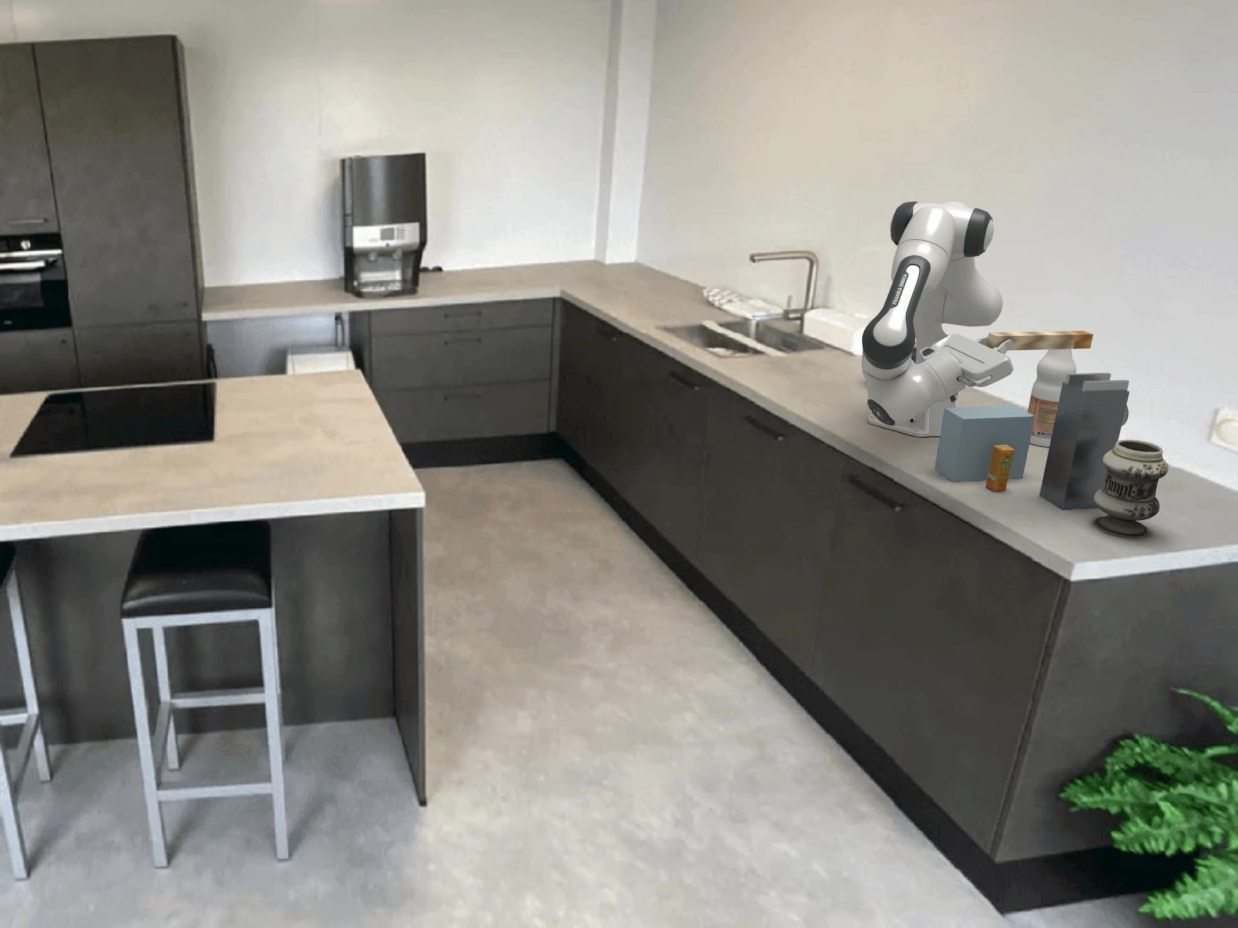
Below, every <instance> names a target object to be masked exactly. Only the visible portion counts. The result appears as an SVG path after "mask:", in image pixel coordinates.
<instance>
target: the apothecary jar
mask: <svg viewBox="0 0 1238 928" xmlns="http://www.w3.org/2000/svg"><path fill="white" fill-rule="evenodd" d="M1163 452H1164V450H1163V448H1162V447H1161V446H1159V445H1158V444H1155V443H1152V442H1148V441H1145V440H1138V439H1120V440H1119V439H1118V441H1117V442H1116V444H1115V447H1114V449H1113V450H1110V451H1109V452H1107V453H1106V454H1105V455H1104V457H1103V463H1104V465H1105V467H1106V468H1107V474H1106V479H1105V483H1104V486H1103V488H1101V489H1100V490H1098V491H1097V492H1096V494H1095V496H1094V501H1095V503H1096V505H1097V506H1098V509H1099V510H1100V511H1101V512H1103V513H1104V514H1105V515H1106V516H1105V515H1104V516H1099V517H1097V518H1096V519H1095V520H1094V525H1095V526H1096V527H1097V529H1100V530H1101V531H1102V532H1105V533H1107V534H1109V535H1110V534H1111V535H1114V536H1117V537H1123V538H1133V539H1135V538H1143V537H1145V536H1146V535H1148V528H1147V527H1146V526H1145V525H1144V524H1143V523H1141V522H1139V521H1145V520H1149V519H1151V518H1153V517H1155V516H1156V515H1158V513H1159V512H1160V509H1161V505H1160V502H1159V499H1158V498H1157V497H1156V493H1157V488H1158V483H1159V481H1160V479H1162V478H1163V477H1165V476H1166V475H1167V473H1168V472H1169V465H1168V462H1167V461H1166V459H1164V455H1163V454H1164V453H1163Z"/></svg>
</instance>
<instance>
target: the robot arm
mask: <svg viewBox="0 0 1238 928" xmlns="http://www.w3.org/2000/svg"><path fill="white" fill-rule="evenodd" d="M993 222H994V221H993V217H992V216H991V213H989V211H986V210H984V209H983V208H982V209H981V208H977V207H975V208H971V207H968V206H967V205H966V204H965V203H962V202H959V201H955V200H951V201H946V202H942V203H937V202H918V201H916V200H915V201H905V202H903V203H902V204H900V205H899V206H897V207H896V209H895V211H894V214H893V215H892V217H891V221H890V224H889V226H890V227H889V231H890V239H891V241H892V242H893V243H894V245H895V246H897V247H896V250H895V253H894V257H893V260H892V264H891V265H892V267H891V273H890V279H891V281H892V283H891V285H890V288H889V291H888V294H887V296H886V299H885V301H884V303H883V307H882V308H881V309H880V312H878V314H877V315H876V316H875V317H873V319H871V320H870V321H869V322H868V324H867V325H866V326H865V328H864V329H863V333H862V335H861V347H862V352H861V354H862V355H861V371H862V374H863V377H864V379H865V381H866V382H865V383H866V387H867V400H866V401H867V406H868V409H869V410H870V411H871V413H870V414H869V415H868V418H867V422H868V423H869V424H870V425H874V426H877V427H880V428H885V429H889V430H892V431H895V432H900V433H903V434H907V435H910V436H913V437H917V438H918V437H919V438H925V437H940V432H941V426H942V420H943V414H944V408H956V401H957V399H958V396H959V392H961V391H962V390H964V389H966V386H967V387H969V388H973V387H976V388H985V387H988V386H991V385H992V384H994V383H998V382H999V381H1001V380H1003V379H1005V378H1007V377H1009V376H1011V375H1012V373H1013V371H1014V370H1015V369H1014V365H1013V363H1012V360H1011V357H1010V356H1008V355H1007V354H1006V353H1007V352H1008V351H1011V350H1010V349H1011V348H1013V347H1014V344H1013V341H1012V340H1010V339H1008V338H1006V339H1005V340H1003V341H1001V342H1000V343H1001V345H1000V346H999V347H998V348H997V347H995V348H993V349H991V348H989V347H987V340H988V336H983V337H979V338H976V339H975V340H973V339H971V338H969V337H966V336H964V335H962V334H960V333H953V334H950V335H948V333H946V332H945V330H944V328H943V325H942V324H945V325H955V326H962V327H970V328H972V327H975V328H976V327H989V326H991V325H992V324H994V323H995V322H996V321H997V320H998V318H999V316H1000V315H1001V313H1002V310H1003V305H1004V303H1003V301H1004V300H1003V298H1002V297H1003V296H1002V294H1001V292H1000V290H999V289H998V288H997V287H996V286H994V285H993V284H991V283H989V282H988V281H987V280H986V279H984V277H982V276H981V274H980V272H979V271H978V269H977V268H976V262H975V260H976V259H975V258H977V257H980V256H981V255H982V254H985V252H987V248H988V247H989V246H990V244H991V242H992V240H993V236H994V232H995V231H994V223H993ZM915 342H916V343H917V351H916V363H914V361H913V360H912V359H911V356H912V351H913V348H914V345H915Z"/></svg>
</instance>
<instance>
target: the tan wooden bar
mask: <svg viewBox="0 0 1238 928" xmlns="http://www.w3.org/2000/svg"><path fill="white" fill-rule="evenodd" d="M987 337H988V340H987V347H989V348H991V349H993V348H995V347H997V348H998V347H999V346H1000V345H1001V343H1000V342H1001V341H1003V340H1005V339H1006V338H1008V339H1010V340H1012V341H1013V344H1014V347H1013V348H1011V349H1010V350H1009V351H1037V350H1038V351H1041V350H1044V351H1046V350H1047V351H1048V350H1050V349H1071V350H1084V349H1085V350H1086V349H1088V350H1089V349H1091V346H1092V342H1093V337H1094V334H1093V333H1091V332H1089V331H1085V330H1054V331H1052V330H1051V331H1049V330H1048V331H1047V330H1046V331H1044V330H1043V331H1002V332H1000V331H999V332H998V331H997V332H988V336H987Z"/></svg>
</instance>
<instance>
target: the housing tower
mask: <svg viewBox="0 0 1238 928" xmlns="http://www.w3.org/2000/svg"><path fill="white" fill-rule="evenodd" d="M1111 377H1112V374H1111V373H1109V372H1086V373H1085V372H1084V373H1080V372H1079V373H1076V374H1067V376H1066V381H1065V382H1063V383H1062V388H1061V393H1060V398H1059V403H1058V408H1057V412H1056V417H1055V422H1054V427H1053V432H1052V436H1051V441H1050V446H1049V447H1048V451H1047V457H1046V462H1045V466H1044V471H1043V477H1042V480H1041V485H1040V490H1039V497H1041V498H1043V499H1045V500H1046V501H1047V502H1049V503H1051V504H1053V505H1054V506H1055V507H1057V508H1059V509H1060V510H1061V511H1064V510H1077V509H1078V510H1080V509H1081V510H1082V509H1097V508H1098V506H1097V505H1096V503H1095V501H1094V496H1095V494H1096V492H1097V491H1098V490H1100V489H1101V488H1103V486H1104V483H1105V479H1106V474H1107V468H1106V467H1105V465H1104V463H1103V457H1104V455H1105V454H1106V453H1107V452H1109V451H1110V450H1113V449H1114V447H1115V444H1116V442H1117V441H1119V438H1120V434H1121V431H1122V427H1123V426H1125V425H1126V423H1127V421H1128V418H1129V413H1130V412H1129V407H1128V405H1127V404H1128V400H1129V397H1130V396H1129V395H1130V391H1129V390H1128V388H1129V386H1130V385H1129V384H1130V381H1129V380H1127V379H1117V380H1116V379H1111ZM1098 509H1099V508H1098Z"/></svg>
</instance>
